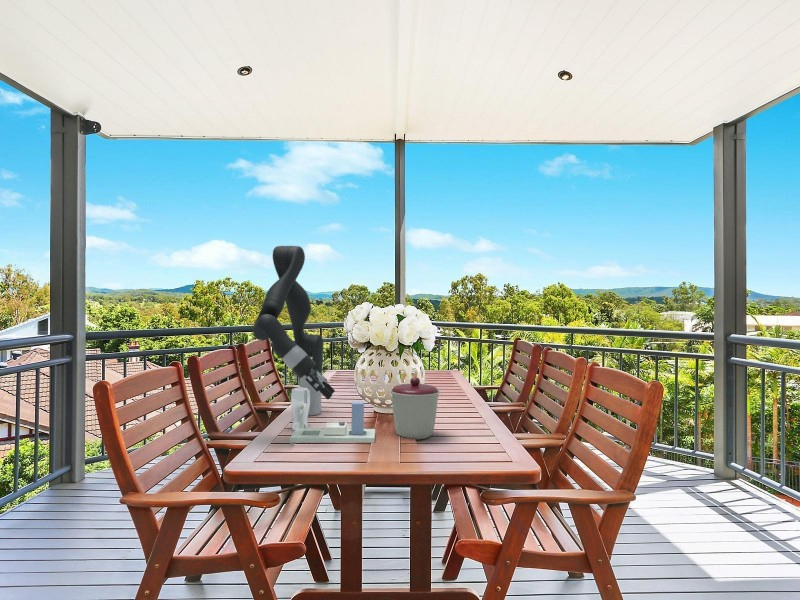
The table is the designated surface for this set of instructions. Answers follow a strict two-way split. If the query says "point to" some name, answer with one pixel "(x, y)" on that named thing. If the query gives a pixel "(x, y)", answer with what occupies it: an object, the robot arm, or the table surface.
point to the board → (330, 436)
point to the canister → (414, 409)
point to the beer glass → (300, 407)
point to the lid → (335, 428)
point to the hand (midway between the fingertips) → (331, 395)
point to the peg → (357, 419)
